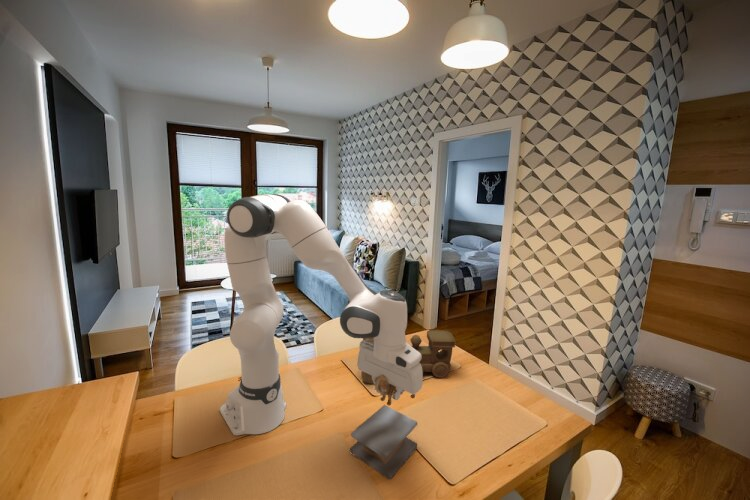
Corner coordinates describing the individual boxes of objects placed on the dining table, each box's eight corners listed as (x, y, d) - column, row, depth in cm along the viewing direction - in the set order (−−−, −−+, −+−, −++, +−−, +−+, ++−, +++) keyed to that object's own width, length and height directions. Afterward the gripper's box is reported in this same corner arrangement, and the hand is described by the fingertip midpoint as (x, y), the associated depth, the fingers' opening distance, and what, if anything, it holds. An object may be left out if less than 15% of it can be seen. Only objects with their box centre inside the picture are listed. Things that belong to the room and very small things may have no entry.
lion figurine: (380, 413, 87) (382, 383, 85) (369, 403, 91) (370, 373, 90) (420, 396, 95) (422, 368, 94) (408, 387, 100) (410, 360, 98)
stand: (347, 454, 91) (348, 431, 90) (380, 424, 104) (381, 403, 102) (387, 482, 83) (389, 457, 82) (418, 445, 96) (420, 423, 94)
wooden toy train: (445, 364, 142) (448, 329, 139) (453, 379, 131) (456, 341, 128) (400, 364, 141) (403, 328, 138) (404, 379, 130) (407, 340, 127)
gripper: (353, 341, 93) (352, 385, 95) (415, 366, 81) (412, 415, 83) (366, 334, 98) (365, 375, 100) (427, 356, 86) (423, 403, 88)
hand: (386, 394), depth 92 cm, fingers closed on lion figurine, 5 cm apart
